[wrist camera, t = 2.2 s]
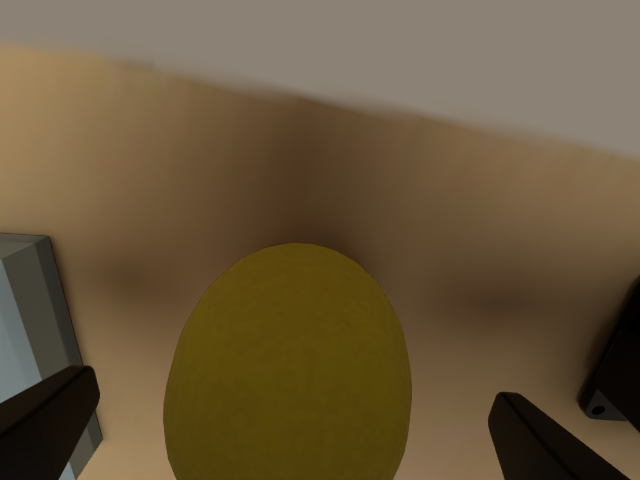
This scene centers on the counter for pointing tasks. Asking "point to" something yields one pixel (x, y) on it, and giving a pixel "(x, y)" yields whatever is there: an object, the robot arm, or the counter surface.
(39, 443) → the robot arm
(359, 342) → the lemon
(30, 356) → the tray
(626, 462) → the counter surface
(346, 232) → the counter surface
